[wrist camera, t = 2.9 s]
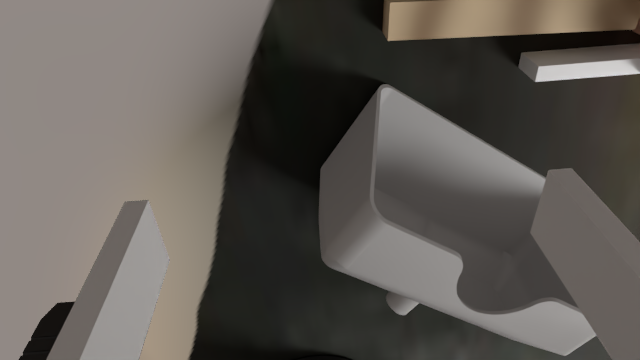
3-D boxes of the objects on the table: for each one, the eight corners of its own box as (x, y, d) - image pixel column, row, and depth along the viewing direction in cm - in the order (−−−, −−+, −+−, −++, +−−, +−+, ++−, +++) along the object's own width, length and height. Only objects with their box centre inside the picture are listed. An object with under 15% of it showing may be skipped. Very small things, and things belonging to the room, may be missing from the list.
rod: (381, 30, 34) (387, 40, 32) (383, -7, 32) (390, 2, 30) (613, 19, 34) (635, 29, 32) (626, -17, 33) (649, -9, 31)
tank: (282, 212, 43) (280, 319, 33) (378, 77, 36) (413, 162, 25) (471, 293, 52) (515, 398, 41) (581, 198, 44) (668, 297, 34)
